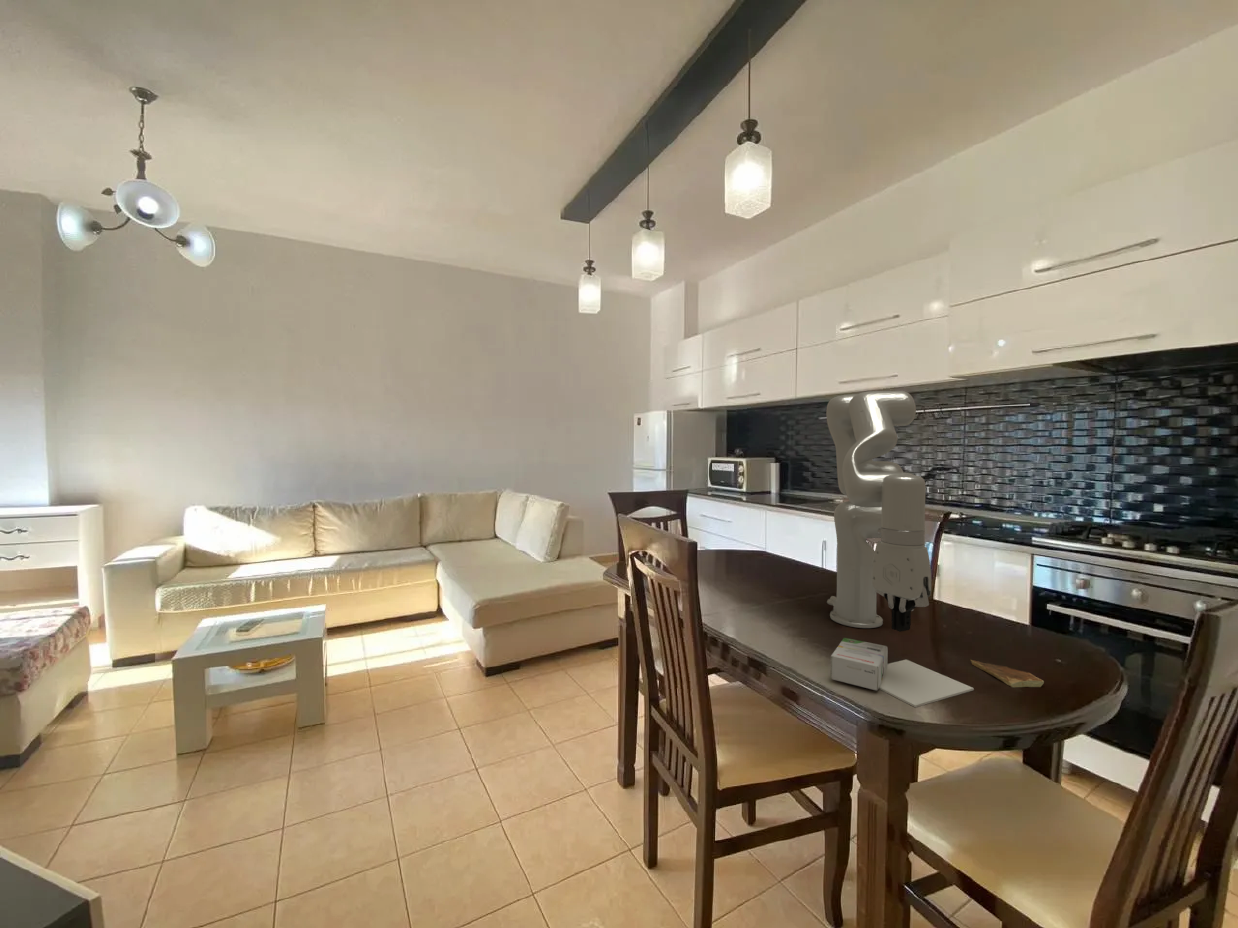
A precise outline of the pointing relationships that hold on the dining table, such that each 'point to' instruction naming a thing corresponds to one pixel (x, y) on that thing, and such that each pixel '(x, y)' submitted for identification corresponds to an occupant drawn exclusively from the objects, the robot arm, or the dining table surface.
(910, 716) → the dining table surface
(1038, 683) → the shard
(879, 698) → the dining table surface
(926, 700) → the grey mat
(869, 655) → the ink box
